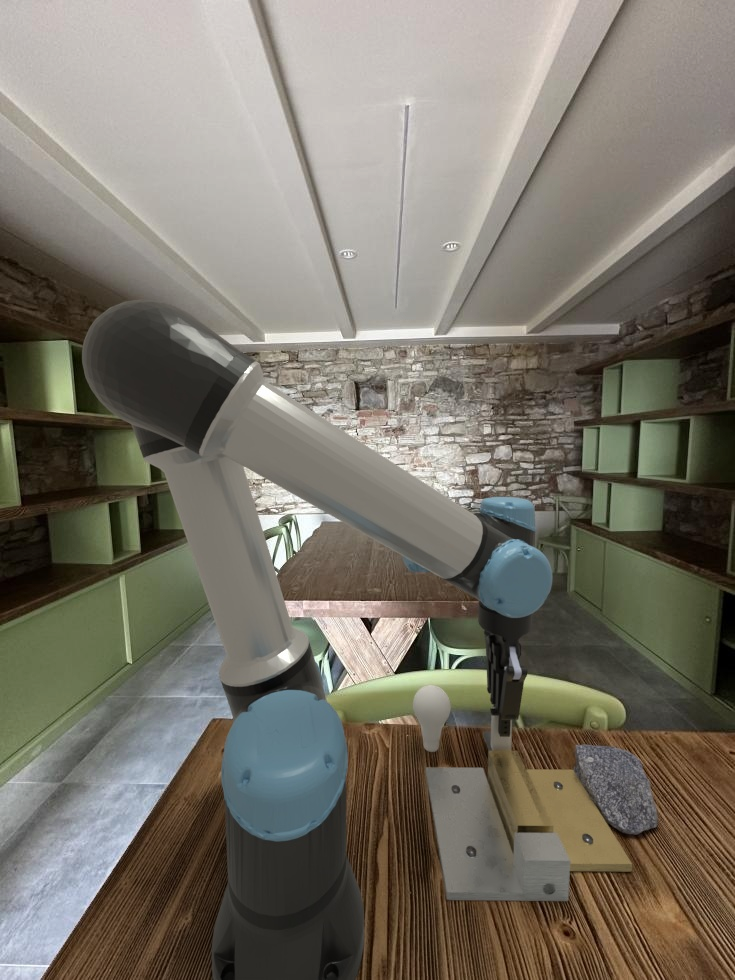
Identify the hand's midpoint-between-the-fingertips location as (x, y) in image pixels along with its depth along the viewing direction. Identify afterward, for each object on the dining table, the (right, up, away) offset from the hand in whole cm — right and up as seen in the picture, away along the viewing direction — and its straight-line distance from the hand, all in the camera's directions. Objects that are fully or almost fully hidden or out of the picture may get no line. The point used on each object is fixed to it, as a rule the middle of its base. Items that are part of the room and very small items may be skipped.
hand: (500, 748), depth 62 cm
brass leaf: (+4, -5, -7) cm, 10 cm away
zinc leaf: (-5, -4, -5) cm, 9 cm away
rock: (+16, -5, -4) cm, 17 cm away
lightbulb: (-10, -4, +5) cm, 12 cm away
